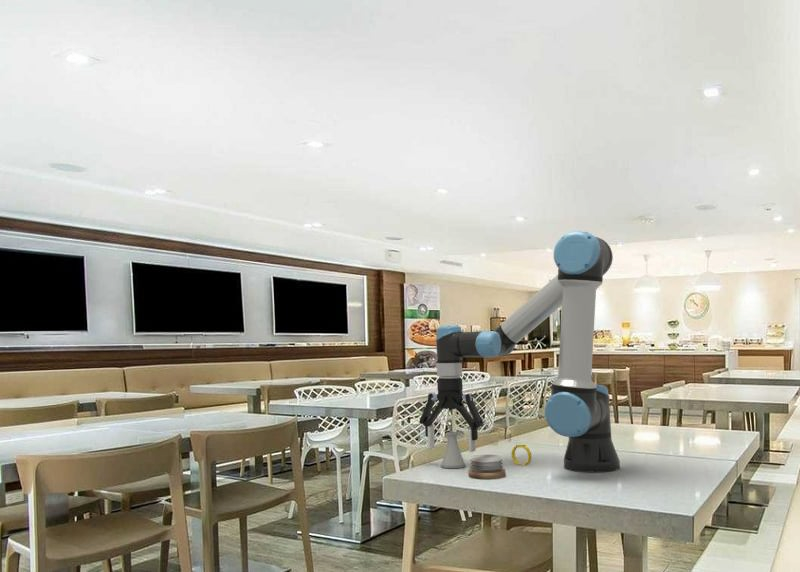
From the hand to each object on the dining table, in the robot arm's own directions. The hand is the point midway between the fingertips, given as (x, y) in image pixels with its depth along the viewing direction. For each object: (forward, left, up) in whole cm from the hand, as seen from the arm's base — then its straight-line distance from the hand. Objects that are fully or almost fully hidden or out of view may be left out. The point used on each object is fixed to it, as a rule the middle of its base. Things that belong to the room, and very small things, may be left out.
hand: (451, 449), depth 191 cm
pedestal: (-15, +9, -5) cm, 19 cm away
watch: (-17, -11, -5) cm, 21 cm away
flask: (0, 0, -5) cm, 5 cm away
